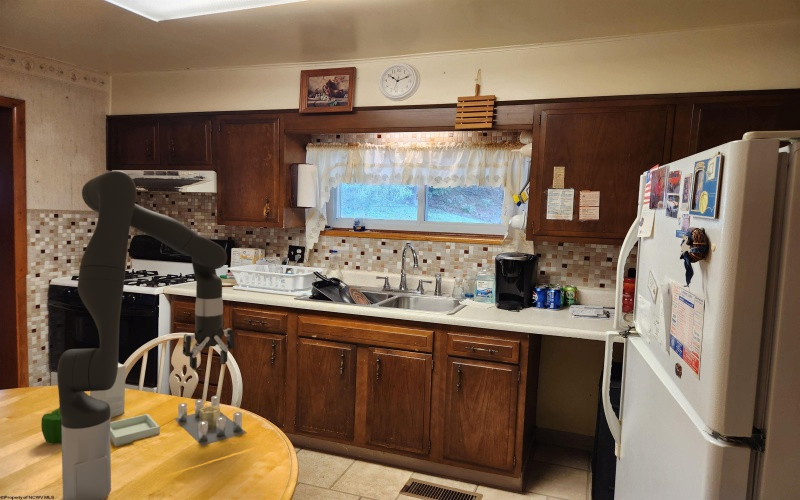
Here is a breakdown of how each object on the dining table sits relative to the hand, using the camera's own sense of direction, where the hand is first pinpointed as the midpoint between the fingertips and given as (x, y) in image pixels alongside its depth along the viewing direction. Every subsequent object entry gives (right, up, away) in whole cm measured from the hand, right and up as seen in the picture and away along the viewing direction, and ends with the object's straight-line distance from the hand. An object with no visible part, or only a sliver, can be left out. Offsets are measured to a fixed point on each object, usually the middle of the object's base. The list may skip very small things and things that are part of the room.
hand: (208, 366), depth 147 cm
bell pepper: (-37, -18, -10) cm, 42 cm away
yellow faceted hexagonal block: (0, -18, +1) cm, 18 cm away
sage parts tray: (-20, -18, -5) cm, 27 cm away
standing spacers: (0, -18, +1) cm, 18 cm away
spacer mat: (0, -18, +1) cm, 18 cm away
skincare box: (-34, -17, +8) cm, 39 cm away
